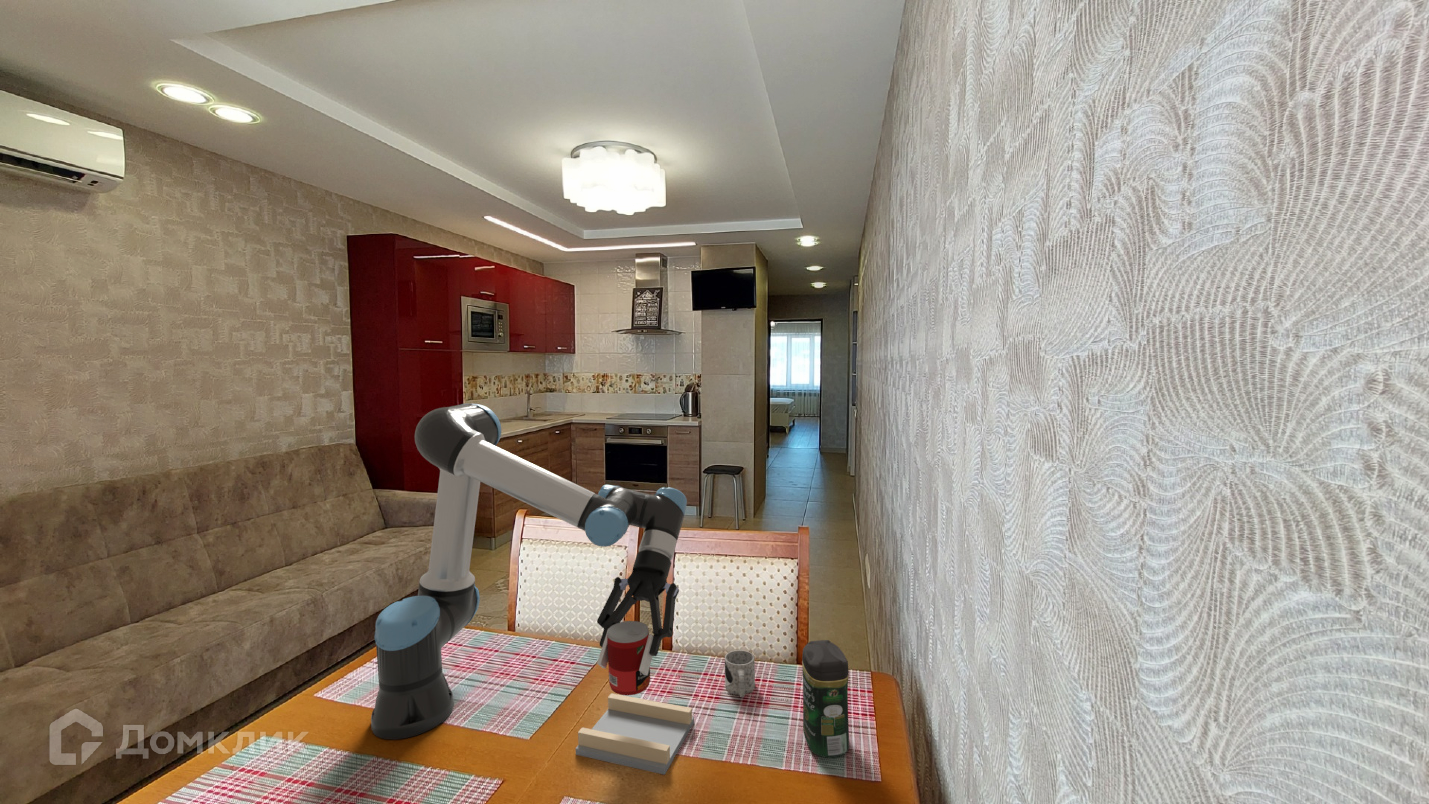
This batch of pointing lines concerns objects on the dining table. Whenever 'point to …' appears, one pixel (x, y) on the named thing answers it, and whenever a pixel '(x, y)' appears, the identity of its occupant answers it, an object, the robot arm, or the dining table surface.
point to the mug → (739, 672)
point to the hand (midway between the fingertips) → (622, 669)
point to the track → (637, 733)
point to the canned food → (627, 657)
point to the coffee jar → (825, 698)
